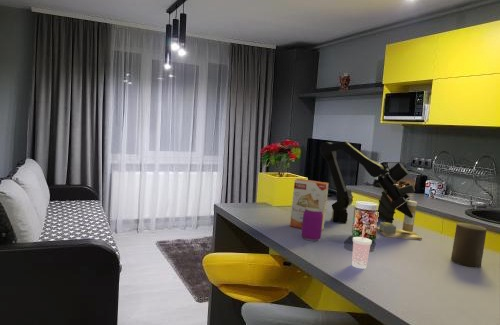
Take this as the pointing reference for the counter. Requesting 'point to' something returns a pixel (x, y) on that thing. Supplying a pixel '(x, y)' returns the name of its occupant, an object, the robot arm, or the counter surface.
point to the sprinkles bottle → (409, 221)
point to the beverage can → (312, 224)
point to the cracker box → (308, 199)
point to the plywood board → (401, 234)
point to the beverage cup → (360, 251)
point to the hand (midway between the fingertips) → (412, 216)
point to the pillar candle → (468, 244)
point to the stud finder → (387, 227)
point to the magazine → (386, 208)
